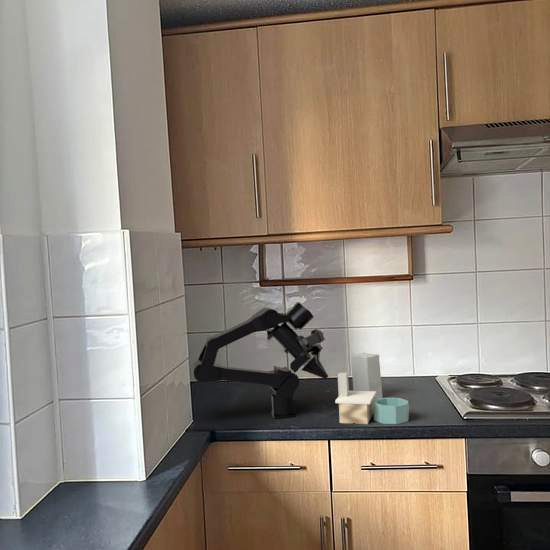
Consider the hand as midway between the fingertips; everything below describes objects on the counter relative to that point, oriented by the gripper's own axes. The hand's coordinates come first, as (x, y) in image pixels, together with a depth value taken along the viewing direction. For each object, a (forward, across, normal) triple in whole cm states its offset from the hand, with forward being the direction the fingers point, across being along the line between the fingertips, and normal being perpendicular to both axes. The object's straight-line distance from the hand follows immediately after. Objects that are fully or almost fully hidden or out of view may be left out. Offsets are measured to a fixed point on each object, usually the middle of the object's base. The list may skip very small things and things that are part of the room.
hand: (327, 377), depth 176 cm
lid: (+10, 0, -2) cm, 10 cm away
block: (+14, 0, +2) cm, 14 cm away
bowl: (+21, 0, -5) cm, 22 cm away
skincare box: (+14, +22, +2) cm, 26 cm away
